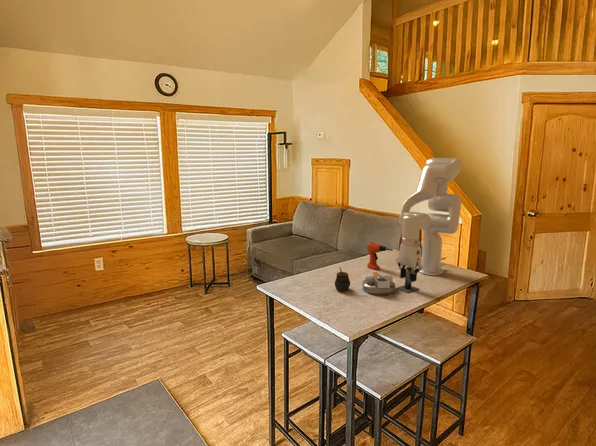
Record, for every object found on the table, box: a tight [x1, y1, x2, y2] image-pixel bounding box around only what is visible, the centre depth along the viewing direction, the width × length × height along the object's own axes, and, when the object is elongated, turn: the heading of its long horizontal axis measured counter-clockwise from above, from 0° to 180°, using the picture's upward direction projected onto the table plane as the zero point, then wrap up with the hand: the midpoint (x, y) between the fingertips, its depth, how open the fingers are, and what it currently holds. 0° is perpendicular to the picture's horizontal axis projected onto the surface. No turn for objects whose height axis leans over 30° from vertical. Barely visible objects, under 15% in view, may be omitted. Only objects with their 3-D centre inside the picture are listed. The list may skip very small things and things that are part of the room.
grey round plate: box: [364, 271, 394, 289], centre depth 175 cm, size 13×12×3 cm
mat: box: [395, 284, 420, 294], centre depth 176 cm, size 8×7×1 cm
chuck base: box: [361, 279, 396, 297], centre depth 176 cm, size 15×15×3 cm
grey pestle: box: [404, 266, 413, 289], centre depth 175 cm, size 3×3×10 cm
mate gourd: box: [334, 266, 351, 292], centre depth 176 cm, size 7×8×10 cm
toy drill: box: [366, 241, 394, 271], centre depth 202 cm, size 5×19×15 cm, turn 33°
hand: (408, 279), depth 175 cm, fingers open, 5 cm apart
